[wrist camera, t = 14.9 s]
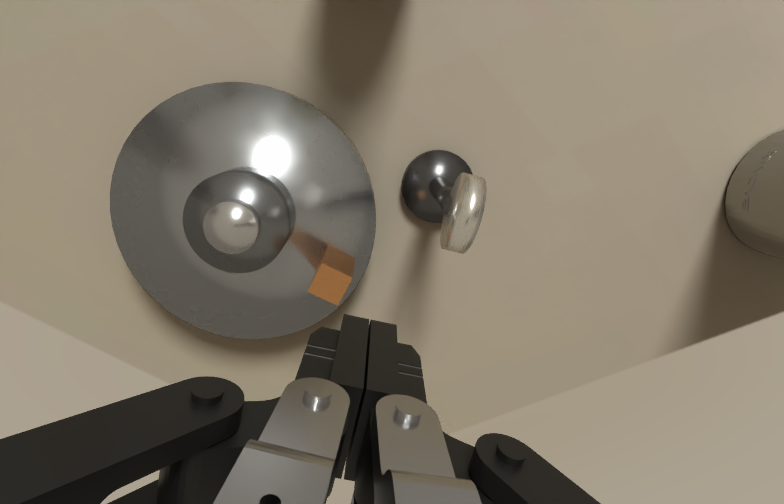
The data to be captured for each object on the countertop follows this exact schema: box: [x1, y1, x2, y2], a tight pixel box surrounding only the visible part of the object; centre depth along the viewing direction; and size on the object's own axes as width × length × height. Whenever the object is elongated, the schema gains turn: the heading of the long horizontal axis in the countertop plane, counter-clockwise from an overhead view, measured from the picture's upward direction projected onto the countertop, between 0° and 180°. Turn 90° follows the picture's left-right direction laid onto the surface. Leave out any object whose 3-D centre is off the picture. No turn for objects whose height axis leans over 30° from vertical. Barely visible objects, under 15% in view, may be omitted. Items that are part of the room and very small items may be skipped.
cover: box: [183, 167, 296, 273], centre depth 28 cm, size 6×6×4 cm
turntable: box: [110, 82, 376, 339], centre depth 29 cm, size 17×17×6 cm
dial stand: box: [402, 150, 486, 254], centre depth 28 cm, size 5×5×12 cm
